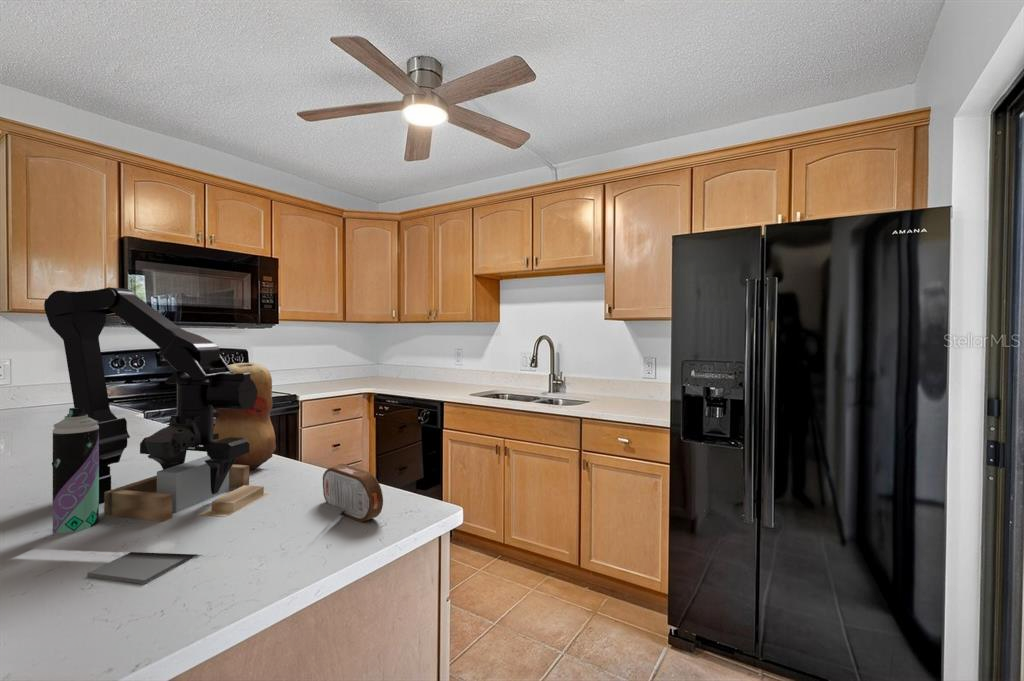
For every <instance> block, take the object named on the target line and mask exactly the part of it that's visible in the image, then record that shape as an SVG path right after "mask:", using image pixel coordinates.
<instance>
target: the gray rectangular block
mask: <svg viewBox="0 0 1024 681" xmlns="http://www.w3.org/2000/svg"><path fill="white" fill-rule="evenodd" d="M208 459H211V458H210V457H209V456H207V455H206V456H203V457H200V458H196V459H193V460H190V461H187V462H186V461H185V462H184V463H183V464H180V465H177V466H173V467H170V468H167V469H164V470H163V469H161V470H159V471H156V475H157V493H161V494H171V495H172V513H179V512H181V511H183V510H185V509H187V508H189V507H190V508H191V507H192V506H195V505H197V504H200V503H202V502H204V501H206V500H209V499H212V498H213V497H216V496H218V495H221V494H224V493H226V492H228V491H230V486H229V472H228V474H227V475H226V477H225V479H224V481H223V483H222V485H221V487H220V489H219V491H218V493H216V494H212V493H211V482H210V467H209V466H208V465H207V463H206V462H205V460H208Z"/></svg>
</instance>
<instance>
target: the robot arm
mask: <svg viewBox="0 0 1024 681" xmlns="http://www.w3.org/2000/svg"><path fill="white" fill-rule="evenodd" d="M137 295H138V294H136V292H134V291H133V290H130V289H129V288H119V287H106V288H105V287H104V288H100V289H94V290H92V289H91V290H83V291H75V290H74V291H72V290H64V289H63V290H59V289H58V290H55V291H53V292H52V293H50V294H49V296H48V297H47V298H45V300H44V304H43V308H44V311H45V315H46V318H47V321H48V323H49V327H51V328H52V329H53V331H54V333H56V334H57V335H58V336H59V337H60V338H61V339H62V341H63V345H64V352H65V359H66V365H67V371H68V377H69V383H70V390H71V394H72V402H73V408H84V413H86V415H88V417H89V418H91V419H93V420H97V421H98V424H97V425H98V426H99V503H101V502H104V492H106V491H109V490H112V475H111V466H110V465H112V464H117V463H120V460H121V457H122V455H123V453H124V450H125V449H127V446H128V439H130V438H131V436H130V434H129V432H128V427H127V426H128V422H127V419H126V418H125V417H121V418H120V417H119V418H118V417H116V415H115V414H114V413H113V412H112V411H111V408H110V402H109V395H108V389H107V382H106V377H105V376H106V375H105V370H104V364H103V358H102V352H101V351H102V350H101V344H100V339H99V338H100V335H101V333H102V331H103V329H104V327H105V325H106V323H107V316H110V315H114V314H115V315H116V316H118V317H119V318H120V319H121V320H123V321H124V322H125V323H126V324H128V325H129V326H131V327H132V328H134V329H135V330H136V331H138V332H139V333H140V334H142V335H143V336H145V337H146V338H147V339H148V340H149V341H151V342H153V343H154V344H155V345H157V346H156V347H158V348H159V350H160V351H161V355H162V357H163V359H164V360H165V361H166V362H167V363H168V364H169V365H170V366H171V367H172V368H173V369H174V370H175V371H174V373H173V374H172V375H170V376H169V377H167V379H165V380H164V383H165V384H166V385H167V384H168V385H176V414H172V415H170V418H169V424H168V426H165V427H163V428H161V429H159V430H158V431H156V432H154V433H152V434H151V435H149V436H147V437H144V438H143V439H142V441H140V443H139V454H142V455H147V458H148V459H151V460H153V461H155V462H157V463H158V464H159V465H160V466H161V468H162V470H164V469H167V468H170V467H173V466H177V465H180V464H183V463H186V456H187V451H191V452H206V455H207V454H208V456H209V457H210V458H211V459H208V460H205V462H206V463H207V465H208V466H209V467H210V482H211V493H212V494H216V493H218V491H219V489H220V487H221V485H222V483H223V481H224V479H225V477H226V475H227V474H228V472H229V470H230V468H231V467H232V465H233V463H234V462H235V460H236V459H237V458H239V457H241V456H242V455H244V454H246V453H249V441H248V440H247V439H246V438H235V437H229V438H225V439H222V440H218V441H214V442H213V440H215V439H219V433H213V428H214V426H215V423H214V419H216V418H217V417H219V412H215V408H216V409H237V410H249V409H250V408H252V407H253V406H254V404H255V402H256V399H257V393H258V392H257V389H256V385H255V383H254V382H253V380H251V379H250V373H245V372H244V373H233V372H232V371H231V369H230V368H229V366H228V365H229V364H227V362H226V360H225V359H224V358H223V356H222V355H221V353H220V351H221V349H220V347H219V346H218V344H216V343H215V342H214V341H211V340H209V339H208V338H205V337H203V336H202V335H199V334H196V333H193V332H190V331H186V330H185V329H183V328H181V327H179V326H178V325H176V323H175V322H172V321H171V320H170V319H168V318H167V317H166V316H165V315H163V314H162V313H160V312H159V311H157V310H156V309H155V308H153V307H152V306H151V305H149V303H147V302H145V301H144V300H143V299H141V298H140V297H139V296H137ZM51 466H52V467H53V461H52V463H51Z"/></svg>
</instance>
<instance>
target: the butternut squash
mask: <svg viewBox="0 0 1024 681" xmlns="http://www.w3.org/2000/svg"><path fill="white" fill-rule="evenodd" d="M227 365H228V366H229V368H230V369H231V371H232V372H233V373H244V372H245V373H250V379H251V380H253V382H254V383H255V385H256V389H257V392H258V393H257V399H256V402H255V404H254V406H253V407H252V408H250V409H249V410H237V409H216V408H214V412H219V417H217V418H215V423H214V428H213V433H219V439H215V440H213V442H214V441H218V440H222V439H225V438H229V437H235V438H246V439H247V440H248V441H249V453H246V454H244V455H242V456H241V457H239V458H237V459H236V460H235V462H234V463H233V464H235V465H247V466H249V471H254V470H255V469H257V468H259V467H260V466H262V465H263V464H264V463H266V462H267V461H269V460H270V459H271V458H272V457H273V454H274V452H275V451H276V450H277V445H276V434H275V433H276V432H275V429H274V426H273V423H272V421H271V415H270V414H271V410H272V409H273V404H274V403H273V392H272V391H273V379H272V375H271V374H272V373H270V372H271V371H270V370H269V368H267V367H266V366H264V365H262V364H260V363H255V362H238V363H232V364H227ZM206 456H208V454H207V453H206Z"/></svg>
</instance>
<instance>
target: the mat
mask: <svg viewBox="0 0 1024 681" xmlns="http://www.w3.org/2000/svg"><path fill="white" fill-rule="evenodd" d="M196 556H198V554H194V553H193V554H192V553H189V554H187V553H167V552H166V553H165V552H162V553H161V552H143V551H140V552H137V551H131V552H128V553H126V554H124V555H122V556H120V557H118V558H115V559H114V560H111V561H109V562H107V563H105V564H103V565H100V566H98V567H97V568H94V569H92V570H90V571H87V573H86V575H87V577H90V578H97V579H105V580H113V581H120V582H126V583H133V584H140V583H141V585H146V584H147V583H149V582H151V581H153V580H155V579H157V578H159V577H160V576H162V575H164V574H166V573H167V572H170V571H171V570H173V569H175V568H176V567H178V566H180V565H182V564H184V563H185V562H187V561H190V560H191V559H192V558H193V559H194V558H195V557H196Z"/></svg>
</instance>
